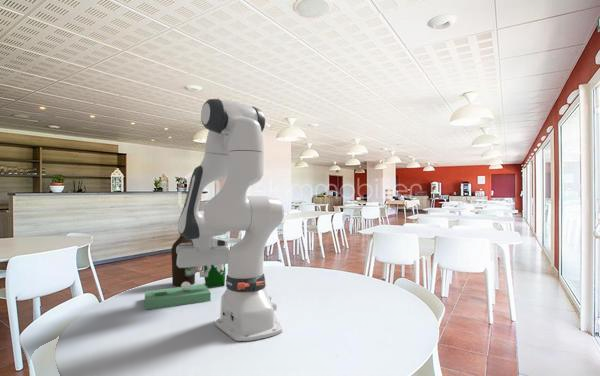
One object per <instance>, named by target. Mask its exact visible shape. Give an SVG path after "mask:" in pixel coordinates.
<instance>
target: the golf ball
mask: <svg viewBox="0 0 600 376" xmlns="http://www.w3.org/2000/svg"><path fill="white" fill-rule="evenodd" d="M191 286H192V285H191V284H190V283H189V282H183V283H182V285H181V286H180V287H181V289H182V290H183V291H188V290H189V289H190V287H191Z"/></svg>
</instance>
